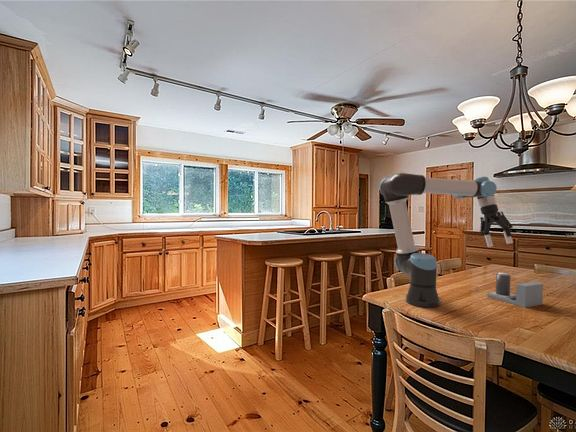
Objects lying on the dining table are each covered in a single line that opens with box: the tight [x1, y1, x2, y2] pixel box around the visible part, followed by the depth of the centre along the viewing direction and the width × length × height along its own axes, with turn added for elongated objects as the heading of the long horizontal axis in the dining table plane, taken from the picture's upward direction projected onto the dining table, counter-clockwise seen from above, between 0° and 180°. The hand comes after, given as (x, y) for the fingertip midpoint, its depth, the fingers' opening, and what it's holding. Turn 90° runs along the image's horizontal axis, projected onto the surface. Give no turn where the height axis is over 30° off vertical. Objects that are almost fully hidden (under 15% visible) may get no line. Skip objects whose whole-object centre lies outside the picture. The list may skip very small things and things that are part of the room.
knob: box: [489, 272, 516, 300], centre depth 153 cm, size 8×8×12 cm
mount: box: [486, 281, 544, 308], centre depth 148 cm, size 13×18×10 cm
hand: (499, 245), depth 151 cm, fingers open, 13 cm apart
